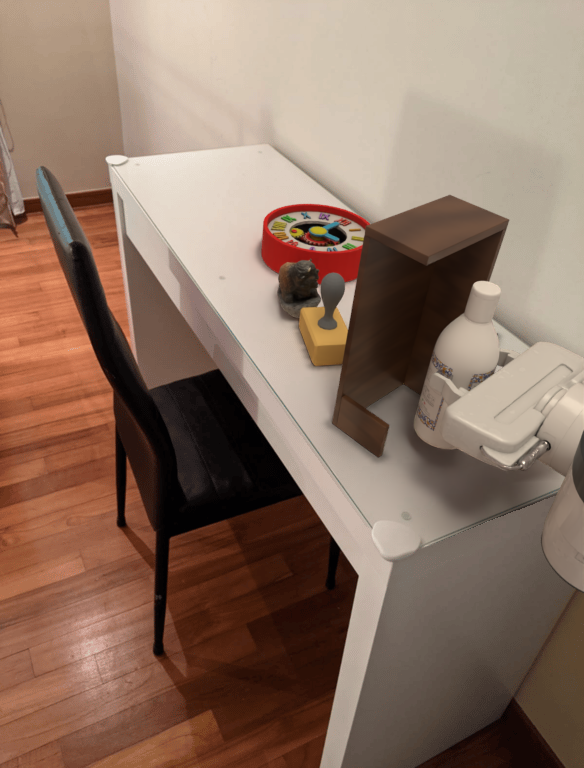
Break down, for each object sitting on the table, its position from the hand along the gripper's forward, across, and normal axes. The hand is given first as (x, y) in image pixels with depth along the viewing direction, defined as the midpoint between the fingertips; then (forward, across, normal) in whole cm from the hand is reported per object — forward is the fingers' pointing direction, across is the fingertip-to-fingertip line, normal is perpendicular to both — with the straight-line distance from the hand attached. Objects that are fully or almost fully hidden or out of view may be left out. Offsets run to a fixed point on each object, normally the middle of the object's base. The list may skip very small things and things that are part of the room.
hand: (455, 362), depth 68 cm
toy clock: (+43, +23, -13) cm, 51 cm away
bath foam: (-1, 0, -10) cm, 10 cm away
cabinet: (+6, 0, -13) cm, 14 cm away
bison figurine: (+33, +9, -13) cm, 37 cm away
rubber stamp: (+23, +4, -13) cm, 27 cm away
